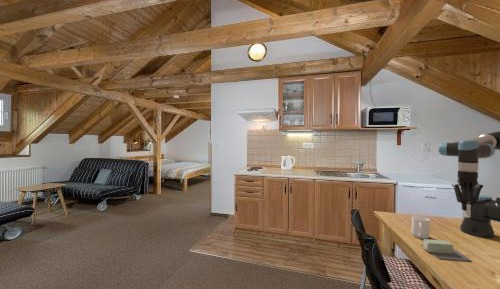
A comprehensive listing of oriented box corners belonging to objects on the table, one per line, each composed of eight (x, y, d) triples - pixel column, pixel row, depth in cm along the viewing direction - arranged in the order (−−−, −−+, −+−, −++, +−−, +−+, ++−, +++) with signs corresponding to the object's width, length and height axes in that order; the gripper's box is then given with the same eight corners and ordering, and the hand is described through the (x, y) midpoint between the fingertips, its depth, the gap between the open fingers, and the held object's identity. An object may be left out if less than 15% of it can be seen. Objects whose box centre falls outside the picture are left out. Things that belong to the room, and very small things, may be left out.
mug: (411, 238, 133) (411, 220, 133) (411, 231, 143) (411, 214, 143) (430, 242, 128) (430, 223, 128) (428, 235, 138) (429, 217, 138)
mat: (449, 247, 123) (450, 246, 123) (471, 261, 109) (471, 260, 109) (421, 245, 125) (421, 244, 125) (438, 259, 111) (438, 257, 111)
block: (446, 240, 119) (422, 239, 121) (452, 244, 115) (428, 242, 116) (446, 249, 120) (422, 247, 121) (452, 253, 115) (427, 251, 117)
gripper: (475, 169, 120) (474, 214, 121) (448, 169, 122) (447, 213, 123) (488, 171, 113) (487, 219, 114) (459, 171, 115) (458, 218, 116)
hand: (466, 216), depth 118 cm, fingers closed
